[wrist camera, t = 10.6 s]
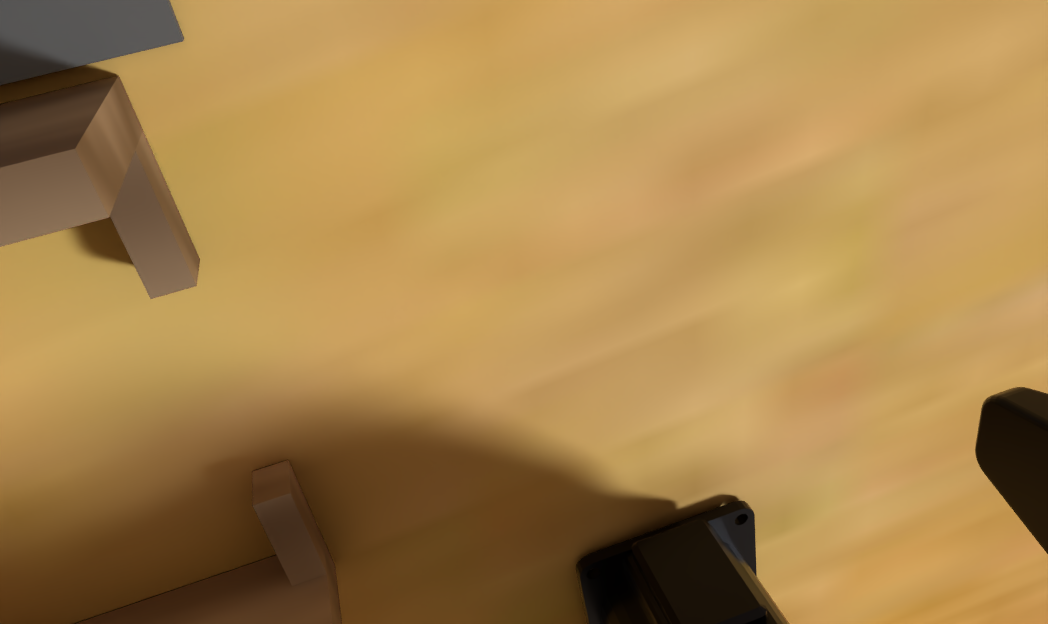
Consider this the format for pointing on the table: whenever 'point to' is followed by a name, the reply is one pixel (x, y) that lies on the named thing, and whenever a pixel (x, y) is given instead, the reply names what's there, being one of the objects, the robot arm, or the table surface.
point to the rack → (164, 267)
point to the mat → (78, 33)
